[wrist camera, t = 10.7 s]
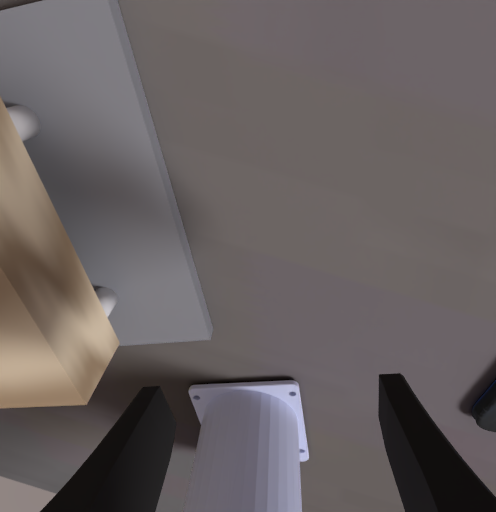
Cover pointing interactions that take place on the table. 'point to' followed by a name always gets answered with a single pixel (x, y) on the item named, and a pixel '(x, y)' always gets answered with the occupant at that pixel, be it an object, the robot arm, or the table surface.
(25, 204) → the shelf board
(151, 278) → the peg stand
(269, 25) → the table surface
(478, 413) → the handheld game console
